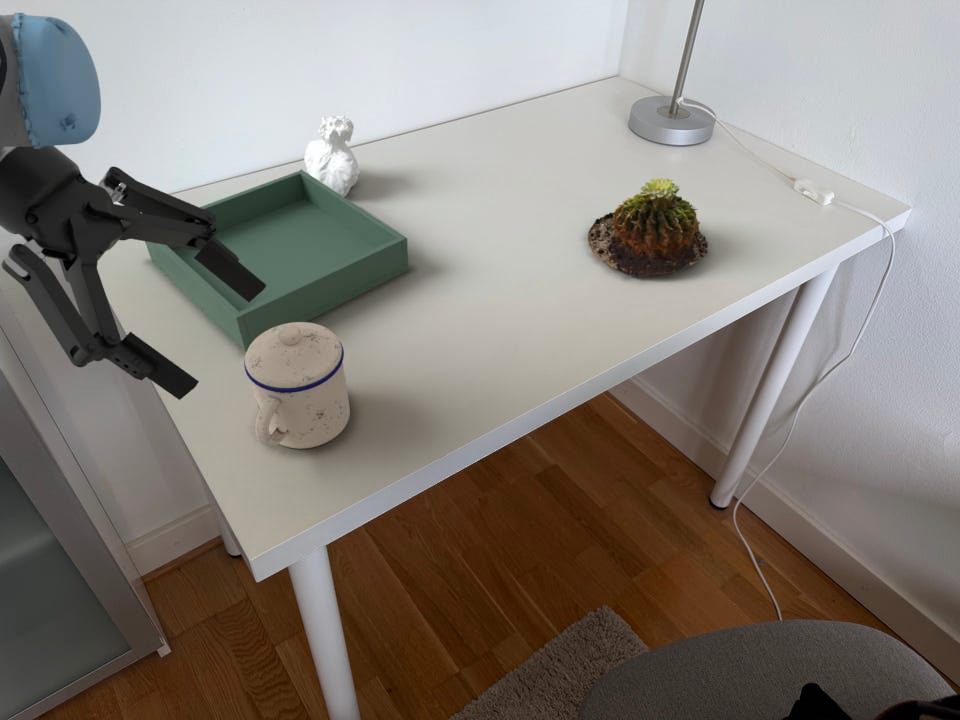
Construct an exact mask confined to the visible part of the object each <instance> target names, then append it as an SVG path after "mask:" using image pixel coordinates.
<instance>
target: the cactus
mask: <svg viewBox="0 0 960 720" xmlns="http://www.w3.org/2000/svg"><path fill="white" fill-rule="evenodd" d="M644 183H645V184H644V186H641V187H640V188H639V189H640V190H641V191H640V193H636V194H635V195H634V196H633V197H627V199H625V200H622V204H618V205H617V206H618V207H617V208H615V210H614V212H609V213H605V214H604V216H602V217H599V218H596V219H595V221H594V223H593V224H592V225H591V227H590V228H589V230H588V232H587V242H588V245H589V247H590V250H591V252H592V253H593V254H594V255H595V256H596V258H598V260H600V261H602V262H603V263H605V264H606V265H608V266H610V267H611V268H614V269H616V270H617V271H623V272H626V274H627V276H631V275H634V276H635V277H644V276H649V275H651V276H652V275H664V274H670V273H674V272H677V271H680V270H683V269H684V268H685V267H686V266H687V267H688V266H689V267H691V266H693V265H694V264H695V263H697V262H699V261H700V260H702V258H704V257H705V256H706V255H707V254H708V250H709V249H708V247H709V246H708V245H709V242H708V241H707V238H706V236H704V234H702V233H701V231H700V223H701V221H699V220H698V217H697V212H696V211H698V210H699V208H695V206H693V204H692V203H690V201H687V199H683V197H682V196H677V193H678V192H679V191H680V185H676V184H675V183H673V179H669V178H668V177H666V178H665V179H663V177H660V178H655V179H654V178H651V179H650V182H644Z"/></svg>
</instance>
